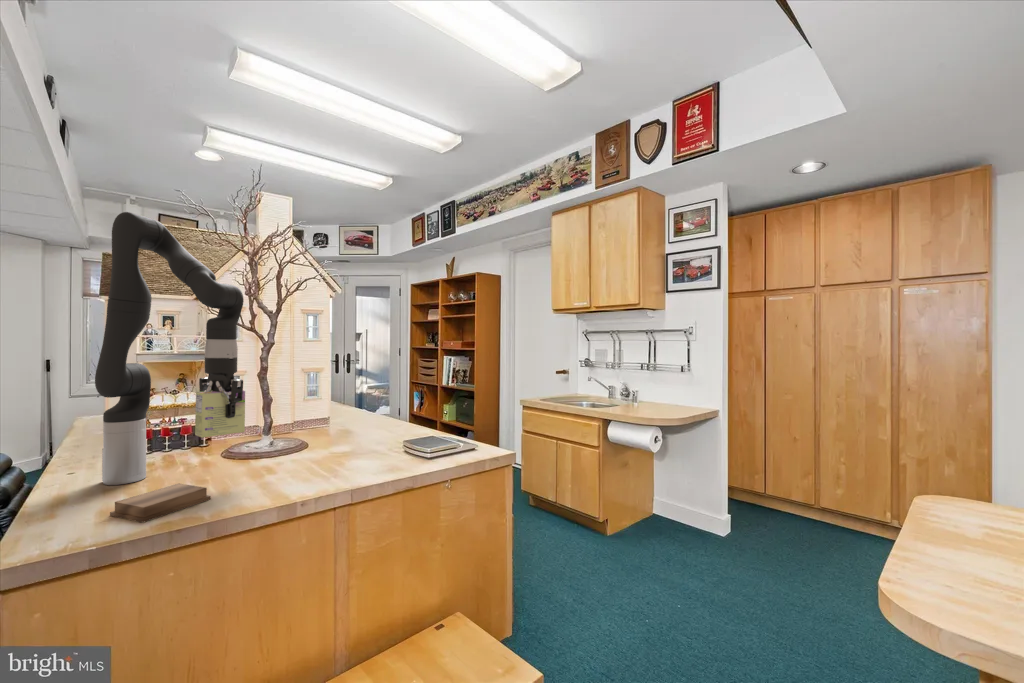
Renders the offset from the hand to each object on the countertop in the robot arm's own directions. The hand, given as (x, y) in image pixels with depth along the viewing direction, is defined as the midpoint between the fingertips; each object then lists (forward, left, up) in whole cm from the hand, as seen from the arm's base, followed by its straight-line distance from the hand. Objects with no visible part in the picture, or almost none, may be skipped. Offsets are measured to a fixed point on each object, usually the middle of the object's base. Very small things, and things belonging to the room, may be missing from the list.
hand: (220, 416), depth 121 cm
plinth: (+2, -16, -19) cm, 25 cm away
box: (0, 0, -5) cm, 5 cm away
